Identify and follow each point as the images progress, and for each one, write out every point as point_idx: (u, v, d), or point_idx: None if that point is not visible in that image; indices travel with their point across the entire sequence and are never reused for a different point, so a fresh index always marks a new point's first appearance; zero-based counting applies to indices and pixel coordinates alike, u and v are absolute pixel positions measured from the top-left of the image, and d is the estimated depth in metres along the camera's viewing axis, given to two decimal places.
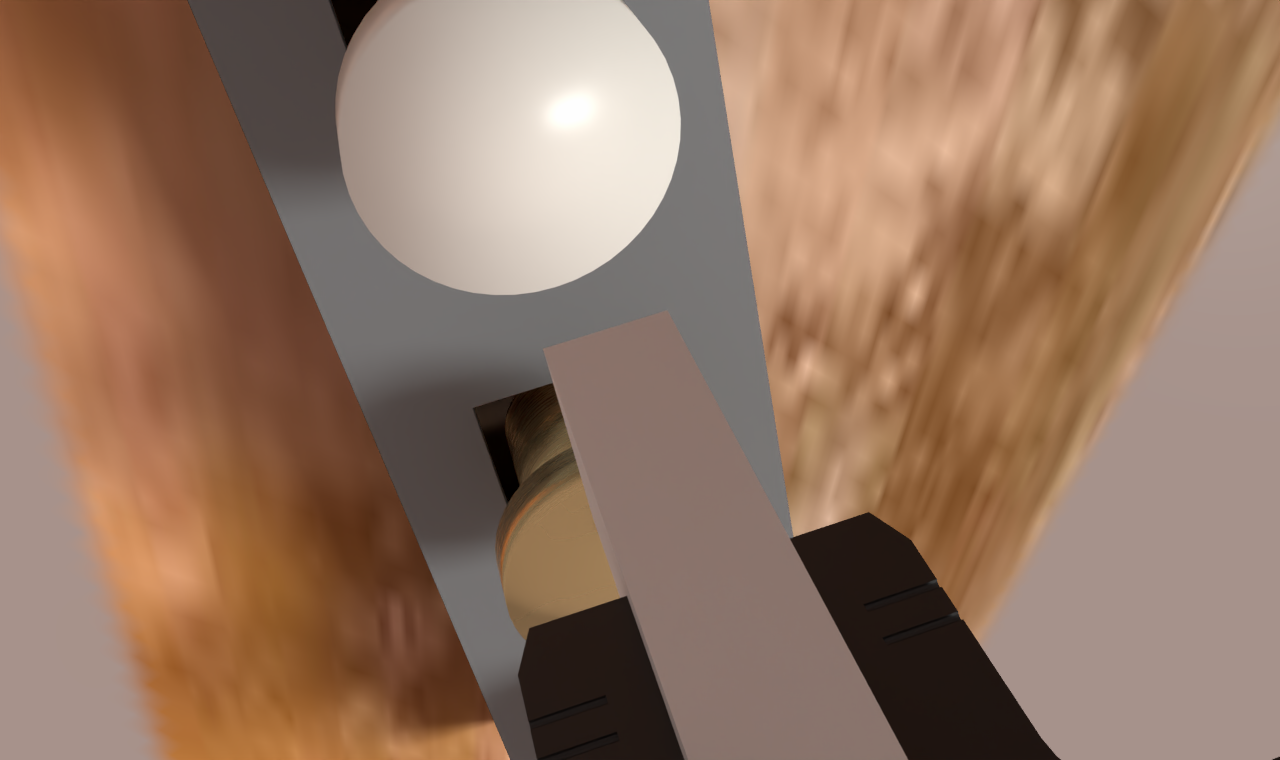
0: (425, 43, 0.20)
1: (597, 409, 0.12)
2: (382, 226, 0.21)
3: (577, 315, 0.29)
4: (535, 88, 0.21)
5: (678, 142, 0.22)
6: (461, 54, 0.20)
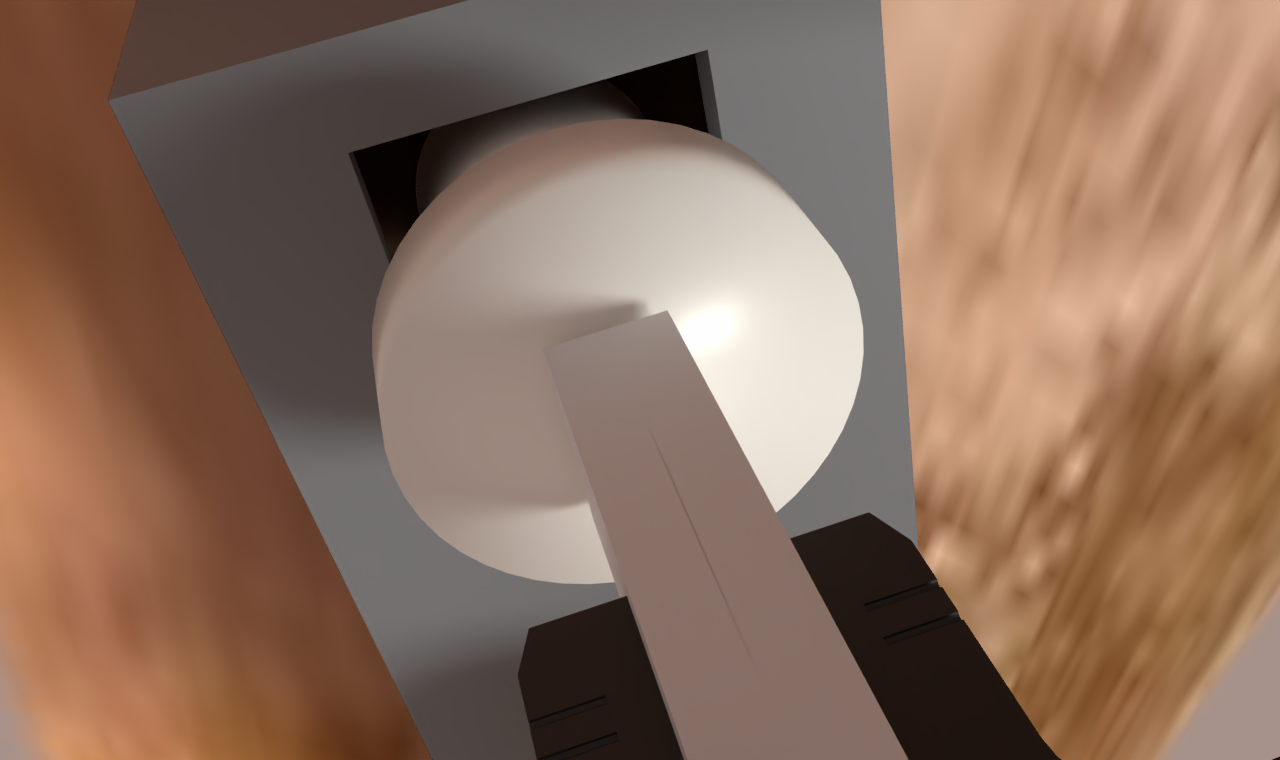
0: (510, 275, 0.13)
1: (597, 409, 0.12)
2: (439, 511, 0.15)
3: None
4: None
5: (857, 383, 0.15)
6: (562, 288, 0.13)
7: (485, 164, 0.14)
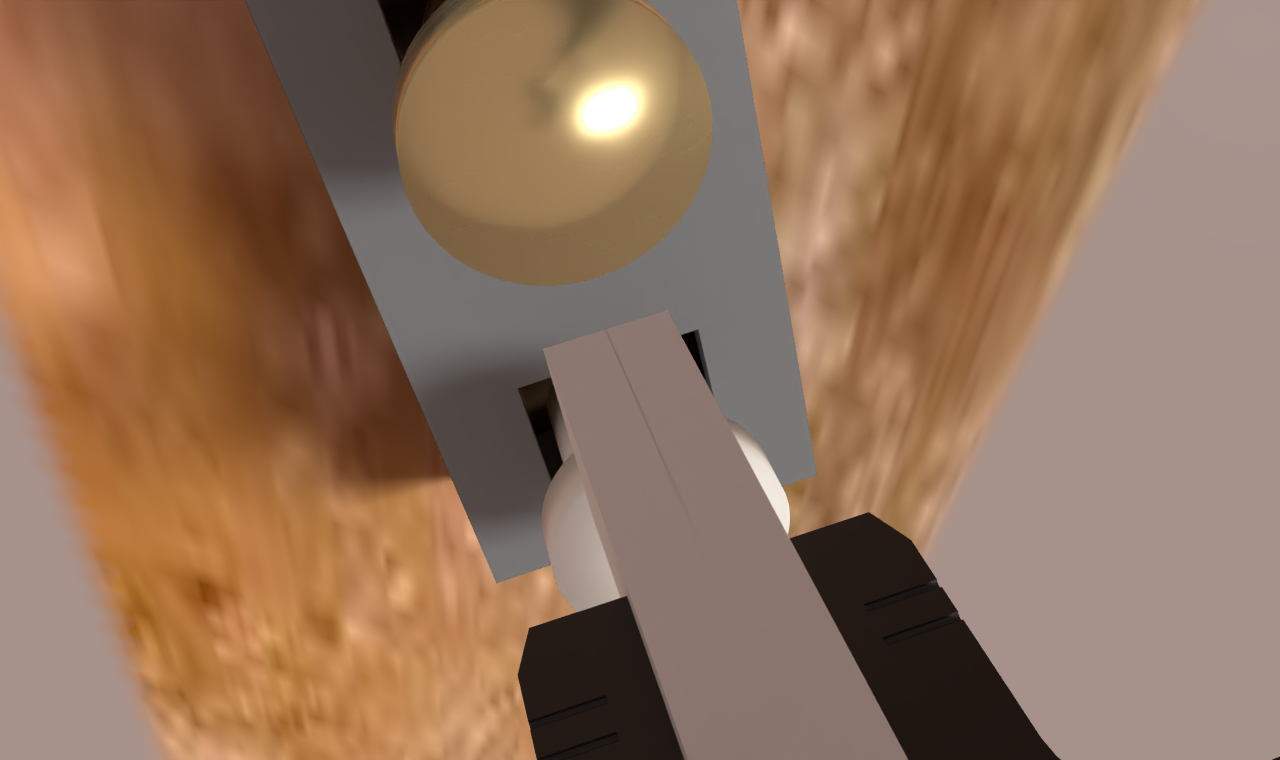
0: None
1: (598, 409, 0.12)
2: None
3: None
4: None
5: None
6: None
7: None
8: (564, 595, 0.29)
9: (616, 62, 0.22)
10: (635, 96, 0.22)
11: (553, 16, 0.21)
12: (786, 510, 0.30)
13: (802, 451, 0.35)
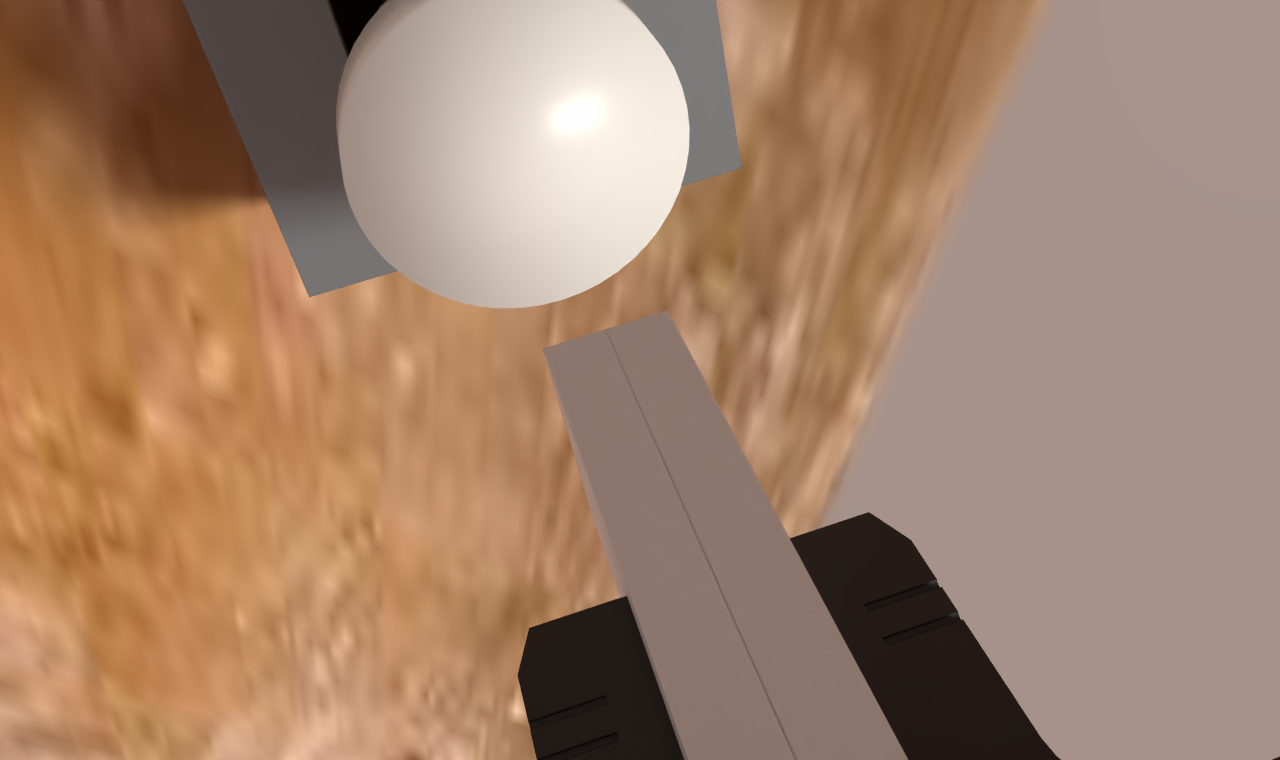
0: None
1: (597, 409, 0.12)
2: None
3: None
4: None
5: None
6: None
7: None
8: (364, 229, 0.21)
9: None
10: None
11: None
12: (684, 116, 0.21)
13: (721, 127, 0.26)
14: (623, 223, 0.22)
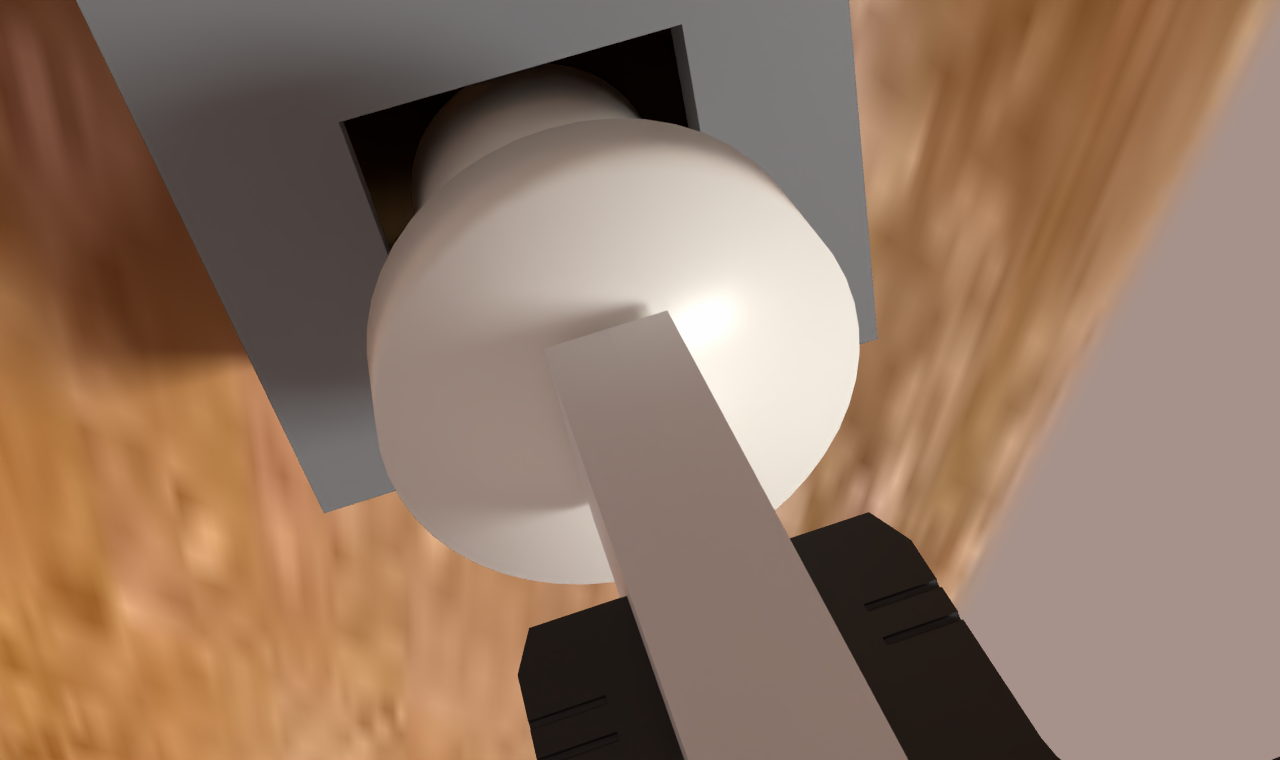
0: None
1: (597, 408, 0.12)
2: None
3: None
4: None
5: None
6: None
7: None
8: (406, 502, 0.15)
9: None
10: None
11: None
12: (853, 339, 0.15)
13: (856, 292, 0.20)
14: (760, 473, 0.16)
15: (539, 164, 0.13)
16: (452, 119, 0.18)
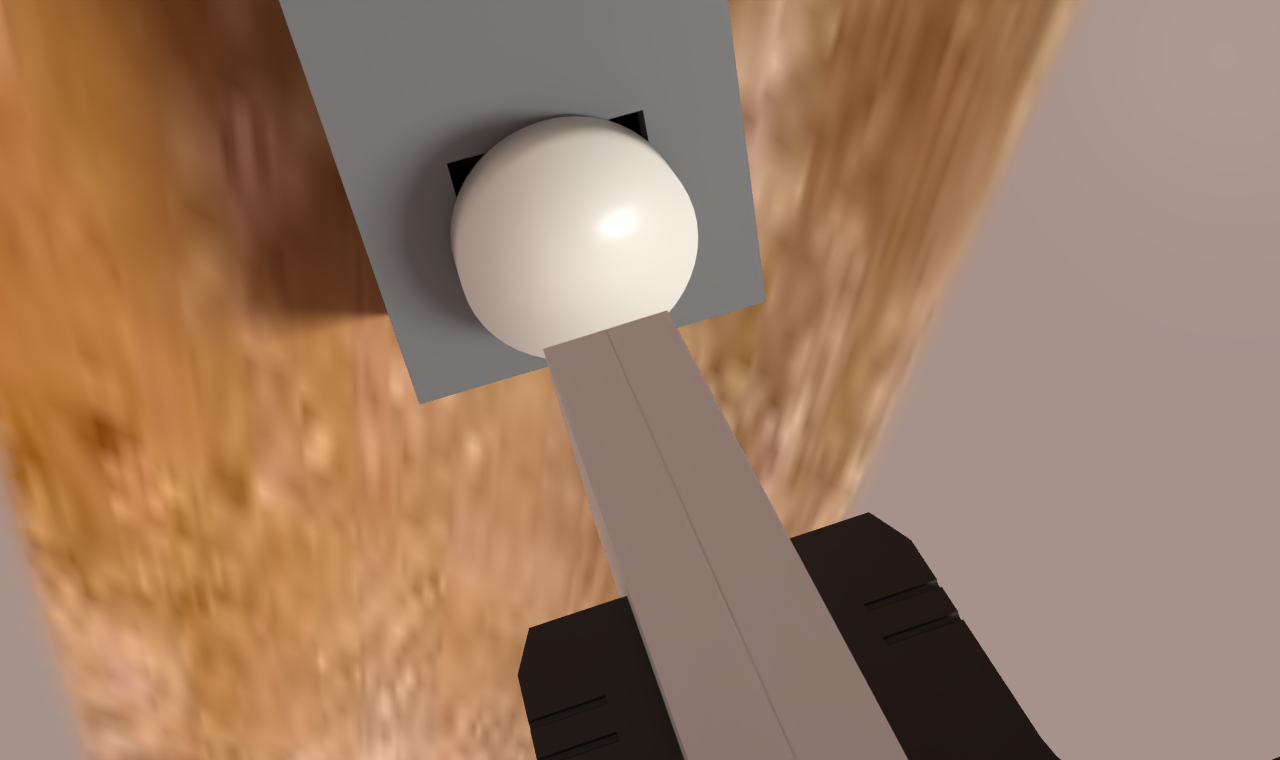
0: None
1: (598, 408, 0.12)
2: None
3: None
4: None
5: None
6: None
7: None
8: (470, 304, 0.29)
9: None
10: None
11: None
12: (694, 228, 0.30)
13: (751, 271, 0.33)
14: (650, 300, 0.31)
15: (539, 136, 0.28)
16: None
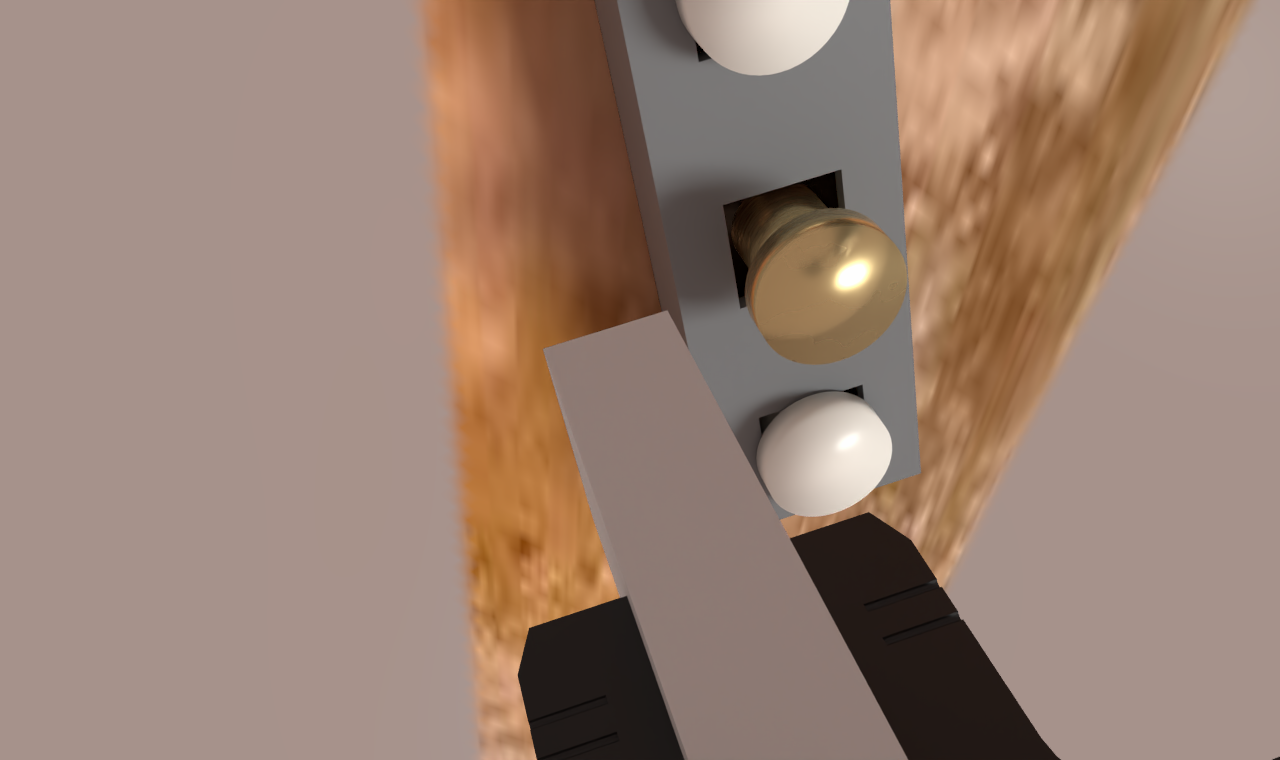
0: None
1: (597, 408, 0.12)
2: (700, 32, 0.41)
3: (791, 144, 0.47)
4: None
5: None
6: None
7: None
8: (770, 492, 0.54)
9: (865, 258, 0.45)
10: (872, 273, 0.45)
11: (840, 238, 0.44)
12: (890, 447, 0.55)
13: (913, 458, 0.58)
14: (863, 484, 0.55)
15: (812, 407, 0.53)
16: None
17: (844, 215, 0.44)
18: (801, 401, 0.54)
